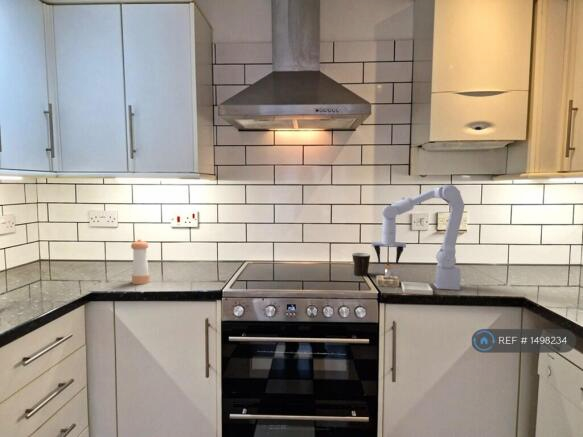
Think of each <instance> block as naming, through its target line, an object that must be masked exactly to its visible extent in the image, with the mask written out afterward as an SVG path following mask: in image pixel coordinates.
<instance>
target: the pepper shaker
mask: <svg viewBox="0 0 583 437" xmlns="http://www.w3.org/2000/svg"><path fill="white" fill-rule="evenodd" d="M148 247H149V244H148V242H147V241H145V240H144V241H143V240H142V239H140V238H139V239H137V241H136V240H135V241H134V242H132V243H131V245H130V248H131V249H132V250H133V251H132V252H133V255H132V256H133V257H132V258H133V261H132V268H131V270H132V275H131V284H133V285H144V284H148V283H150V282H151V281H150V280H151V279H150V278H151V277H150V273H149V263H148V262H149V261H148V255H147V253H148V252H147V249H148Z"/></svg>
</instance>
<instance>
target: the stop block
mask: <svg viewBox="0 0 583 437" xmlns="http://www.w3.org/2000/svg"><path fill="white" fill-rule="evenodd" d="M376 285H377V286H378V287H392V288H393V287H394V288H399V287H400V280H399V278H398V276H395V275H390V279H385V275H381V274H379V275H376Z"/></svg>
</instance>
